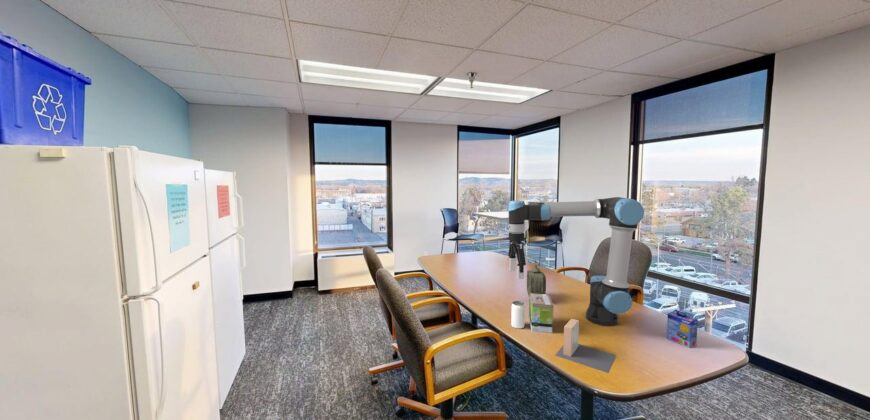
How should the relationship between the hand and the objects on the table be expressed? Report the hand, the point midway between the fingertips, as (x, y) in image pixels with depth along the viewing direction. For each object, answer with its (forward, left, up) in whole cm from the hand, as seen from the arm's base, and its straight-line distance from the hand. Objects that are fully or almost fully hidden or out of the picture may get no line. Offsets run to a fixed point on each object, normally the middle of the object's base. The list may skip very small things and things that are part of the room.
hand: (516, 274), depth 160 cm
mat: (-26, +24, -27) cm, 45 cm away
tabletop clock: (-15, -38, -27) cm, 49 cm away
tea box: (-12, -2, -27) cm, 30 cm away
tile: (-21, +21, -26) cm, 40 cm away
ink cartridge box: (-72, +5, -27) cm, 77 cm away
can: (-1, -1, -27) cm, 27 cm away
